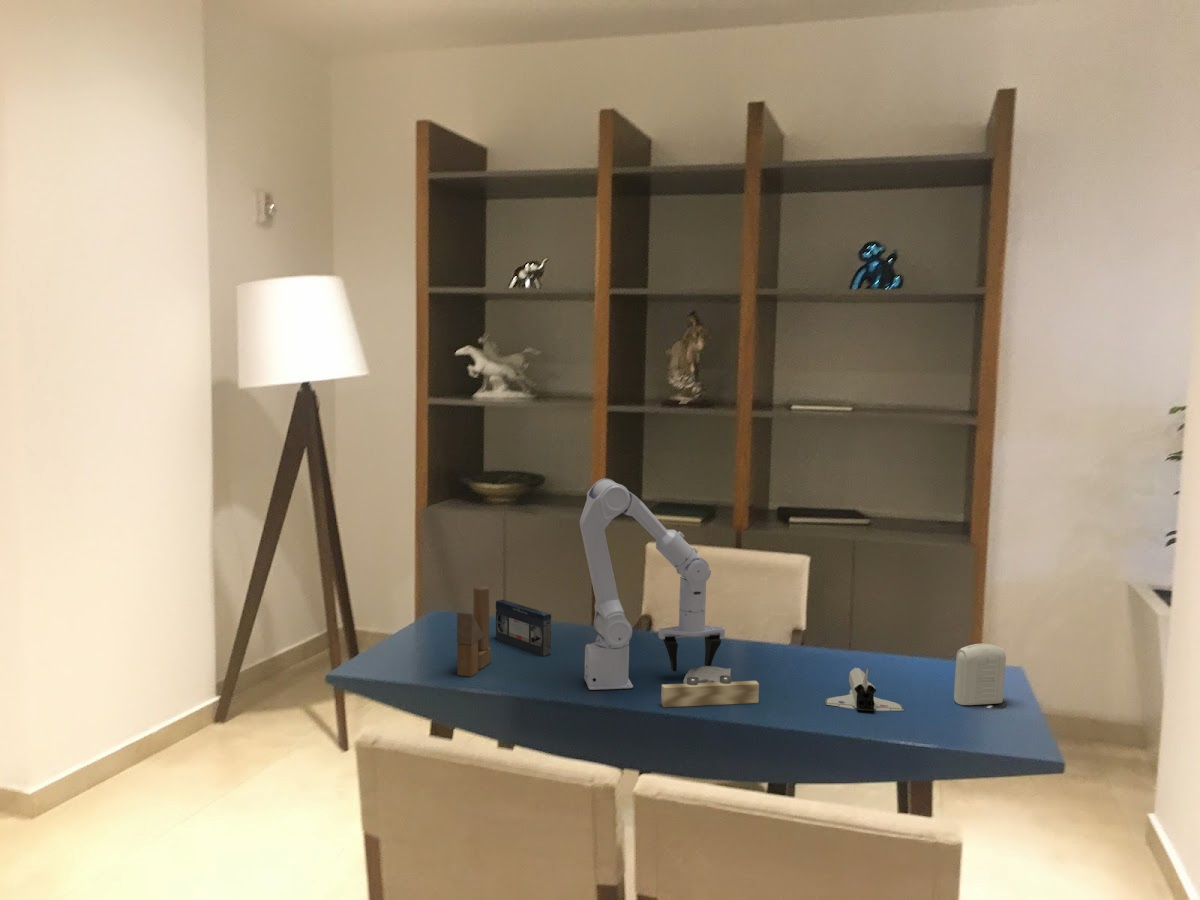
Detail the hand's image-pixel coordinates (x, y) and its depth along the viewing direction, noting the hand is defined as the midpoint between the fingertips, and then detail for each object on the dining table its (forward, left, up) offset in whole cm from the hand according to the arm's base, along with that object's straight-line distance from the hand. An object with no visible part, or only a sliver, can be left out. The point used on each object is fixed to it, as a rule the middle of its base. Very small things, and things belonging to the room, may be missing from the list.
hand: (690, 669), depth 209 cm
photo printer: (+56, -22, -2) cm, 60 cm away
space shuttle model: (+34, -13, -3) cm, 36 cm away
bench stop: (0, -16, -2) cm, 16 cm away
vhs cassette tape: (-35, +26, -2) cm, 44 cm away
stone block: (+2, -7, -2) cm, 7 cm away
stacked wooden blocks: (-47, +11, -2) cm, 48 cm away
